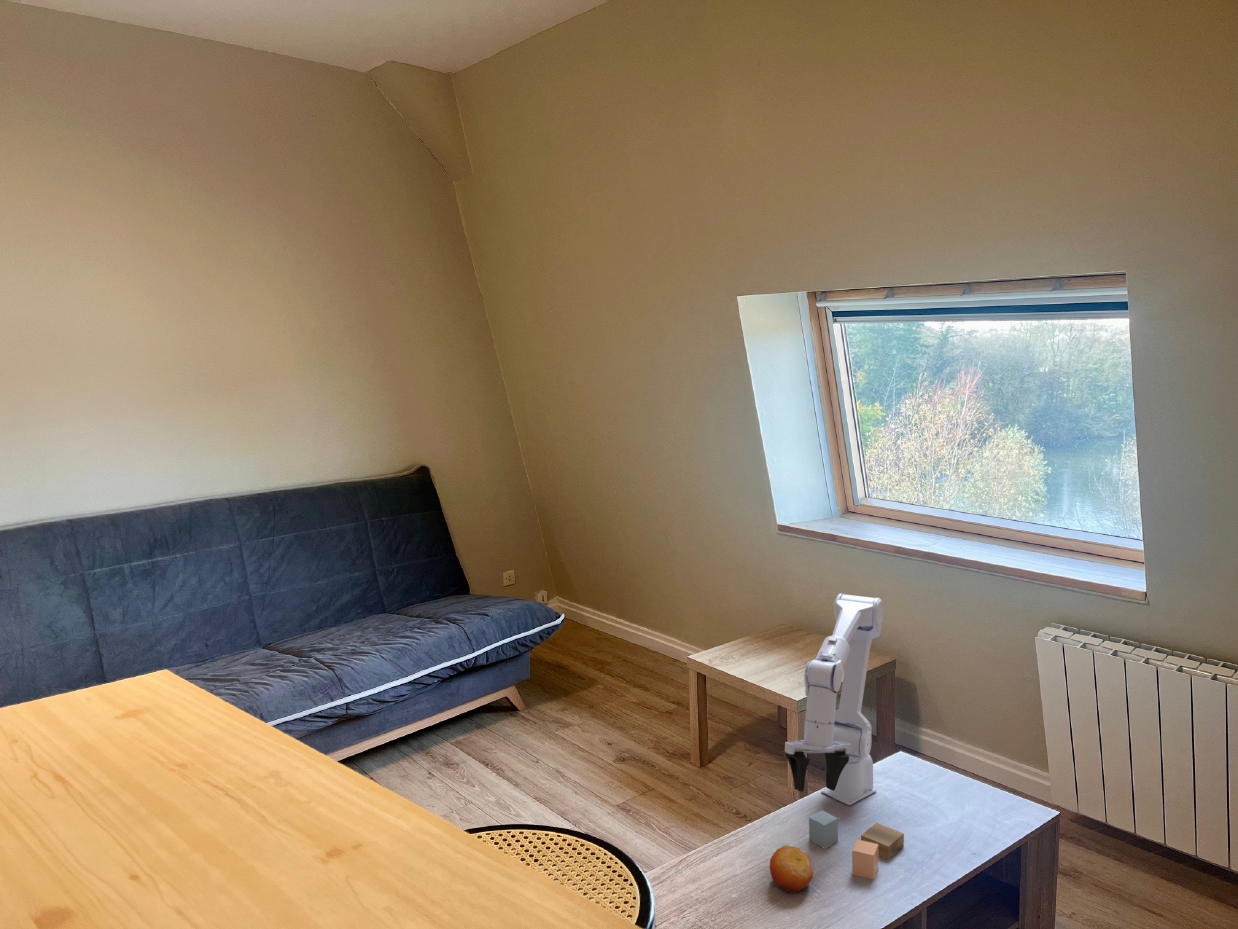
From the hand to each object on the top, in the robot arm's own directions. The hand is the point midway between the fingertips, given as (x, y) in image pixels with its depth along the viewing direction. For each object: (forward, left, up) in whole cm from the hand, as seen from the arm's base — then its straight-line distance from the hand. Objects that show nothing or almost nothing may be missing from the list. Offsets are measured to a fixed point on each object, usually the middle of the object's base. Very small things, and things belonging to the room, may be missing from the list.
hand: (814, 789), depth 184 cm
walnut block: (-8, +10, -11) cm, 17 cm away
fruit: (+15, +7, -11) cm, 20 cm away
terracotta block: (+1, +13, -11) cm, 17 cm away
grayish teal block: (-1, +1, -11) cm, 11 cm away
